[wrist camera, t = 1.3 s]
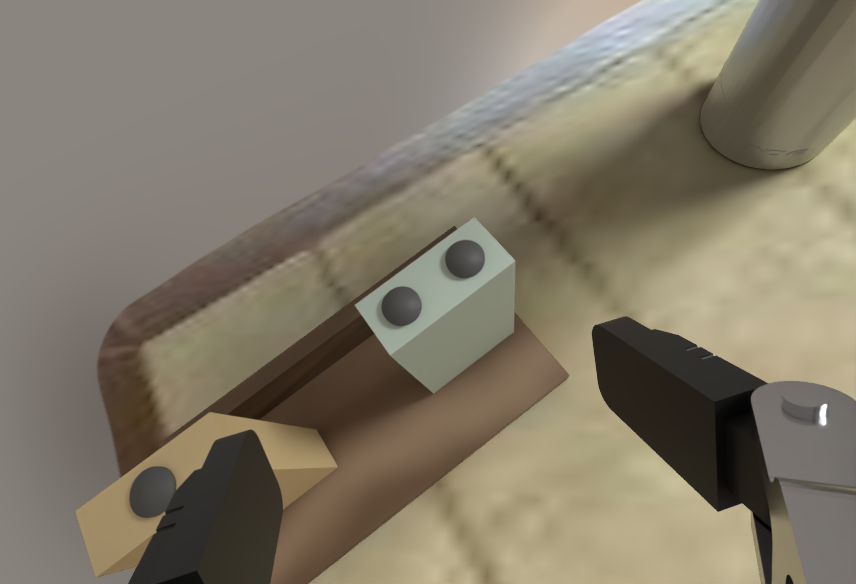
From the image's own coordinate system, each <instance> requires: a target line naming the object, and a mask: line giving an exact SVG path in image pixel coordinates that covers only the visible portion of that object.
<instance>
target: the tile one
mask: <svg viewBox="0 0 856 584" xmlns="http://www.w3.org/2000/svg"><path fill="white" fill-rule="evenodd" d="M250 429H252V430H253V431H255V433H256V434H257V436H258V437H259V440H260V442H261V444H262V446H263V449H264V451H265V453H266V456H267V458H268V460H269V463H270V465H271V467H272V470H273V472H274V474H275V476H276V479H277V481H278V484H279V486H280V490H281V494H282V500H283V509H285V508H286V507H287V506H289V505H290V504H291V503H292V502H294V501H295V500H296V499H298V498H299V497H300V496H302V495H303V494H304V493H305V492H307V491H308V490H309V489H311V488H312V487H313V486H314V485H316V484H317V483H318V482H320V481H321V480H322V479H324V478H325V477H326V476H327V475H329V474H330V473H331V472H333V471H334V470H335V469H337V468H338V466H337V464H336V462H335V461H334V459H333V457H332V455H331V454H330V452H329V450H328V448H327V447H326V445H325V443H324V441H323V440H322V438H321V436H320V434H319V433H318V431H317V430H316V429H310V428H304V427H298V426H292V425H286V424H279V423H273V422H267V421H261V420H255V419H249V418H243V417H236V416H230V415H224V414H218V413H212V412H209V413H208V414H206V415H205V416H204V417H202V418H201V419H200V420H198V421H197V422H196V423H194V424H193V425H192V426H190V427H189V428H187V429H186V430H185V431H183V432H182V433H181V434H179V435H178V436H177V437H175V438H174V439H173V440H171V441H170V442H169V443H167V444H166V445H164V446H163V447H162V448H160V449H159V450H158V451H156V452H155V453H154V454H152V455H151V456H150V457H148V458H147V459H145V460H144V461H143V462H141V463H140V464H139V465H137V466H136V467H135V468H133V469H132V470H131V471H129V472H128V473H127V474H125V475H124V476H122V477H121V478H120V479H118V480H117V481H116V482H114V483H113V484H112V485H110V486H109V487H108V488H106V489H105V490H103V491H102V492H101V493H100V494H98V495H97V496H95V497H94V498H93V499H91V500H90V501H89V502H87V503H86V504H85V505H83V506H82V507H80V508H79V509H78V510H76V515H77V518H78V522H79V525H80V528H81V532H82V535H83V538H84V541H85V544H86V548H87V551H88V554H89V558H90V561H91V564H92V568H93V571H94V574H95V577H100V576H104V575H107V574H111V573H114V572H117V571H121V570H125V569H129V568H132V567H136V566H138V564H139V562H140V560H141V558H142V556H143V554H144V552H145V550H146V548H147V546H148V544H149V542H150V540H151V538H152V536H153V534H155V533H156V528H157V526H158V524H159V522H160V520H161V518H162V516H164V515H165V511H166V509H167V507H168V505H169V503H170V501H171V499H172V497H173V495H174V493H175V491H176V490H177V489H178V488H179V487H180V486H181V484H182V483H183V482H184V481H185V480H186V479H187V478H188V477H189V476H190V475H191V474H192V472H193V471H194V470H197V469H201V468H202V466H203V464H204V462H205V460H206V458H207V455H208V453H209V451H210V449H211V447H212V445H213V443H214V441H215V440H217V439H220V438H223V437H227V436H230V435H233V434H236V433H240V432H243V431H246V430H250Z"/></svg>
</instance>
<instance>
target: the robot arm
mask: <svg viewBox="0 0 856 584" xmlns="http://www.w3.org/2000/svg"><path fill="white" fill-rule="evenodd" d="M855 118H856V0H759V2H758V4H757V5H756V7H755V9H754V11H753V13H752V15H751V17H750V18H749V20H748V22H747V24H746V26H745V28H744V30H743V31H742V33H741V35H740V37H739V39H738V41H737V42H736V44H735V46H734V48H733V50H732V52H731V54H730V55H729V57H728V59H727V61H726V62H725V64H724V66H723V68H722V70H721V72H720V74H719V75H718V77H717V79H716V81H715V83H714V85H713V87H712V89H711V90H710V92H709V94H708V96H707V98H706V100H705V102H704V104H703V106H702V109H701V114H700V121H701V128H702V130H703V133H704V135H705V137H706V138H707V140H708V141H709V143H710V144H711V145H712V146H713V147H714V148H715V149H716V150H717V151H718V152H720V153H721V154H722V155H724V156H726V157H727V158H729V159H731V160H732V161H735V162H737V163H740V164H742V165H745V166H750V167H754V168H759V169H773V170H774V169H784V168H790V167H794V166H798V165H801V164H803V163H805V162H807V161H810V160H812V159H813V158H815V157H816V156H817V155H818V154H820V153H821V152H822V151H823V150H824V149H825V148H826V147H827V146H828V145H829V144H830V143H831V142H832V141H833V140H834V139H835V138H836V137H837V136H838V135H839V134H840V133H841V132H842V131H843V130H844V129H845V128H846V127H847V126H848V125H849V124H850V123H851V122H852V121H853V120H854V119H855ZM592 340H593V348H594V355H595V363H596V371H597V379H598V385H599V389H600V392H601V394H602V397H603V399H604V401H605V402H606V404H607V405H608V407H609V408H610V409H611V410H612V411H613V412H614V413H615V414H616V415H617V416H618V417H619V418H620V419H621V420H622V421H624V422H625V423H626V424H627V425H628V426H629V427H630V428H631V429H632V430H633V431H634V432H635V433H636V434H637V435H638V436H639V437H640V438H641V439H642V440H643V441H644V442H646V443H647V444H648V445H649V446H650V447H651V448H652V449H653V450H654V451H655V452H656V453H657V454H658V455H659V456H660V457H661V458H662V459H663V460H664V461H665V462H666V463H667V464H669V465H670V466H671V467H672V468H673V469H674V470H675V471H676V472H677V473H678V474H679V475H680V476H681V477H682V478H683V479H684V480H685V481H686V482H687V483H688V484H689V485H691V486H692V487H693V488H694V489H695V490H696V491H697V492H698V493H699V494H700V495H701V496H702V497H703V498H704V499H705V500H706V501H707V502H708V503H709V504H710V505H711V506H712V507H714V508H715V509H716V510H717V511H718V512H719V511H722V510H724V509H727V508H730V507H733V506H736V505H738V504H741V503H743V504H744V505H745V506H746V507H747V508H748V509H750V510H751V528H752V534H753V540H754V545H755V551H756V557H757V563H758V569H759V575H760V580H761V584H856V401H855V400H854V399H853V398H851V397H849V396H848V395H846V394H844V393H842V392H840V391H838V390H835V389H833V388H830V387H826V386H823V385H819V384H814V383H808V382H799V381H781V382H774V383H769V384H768V383H766V382H765V381H763V380H761V379H759V378H757V377H755V376H753V375H752V374H750V373H748V372H746V371H744V370H742V369H740V368H739V367H737V366H735V365H733V364H731V363H729V362H727V361H726V360H724V359H722V358H720V357H718V356H713V353H711V352H709V351H707V350H705V349H703V348H701V347H699V348H698V347H697V345H696V344H694V343H692V342H690V341H688V340H687V339H685V338H683V337H681V336H679V335H676V334H672V333H668V332H664V331H660V330H656V329H654V330H650V329H649V328H647V327H645V326H643V325H642V324H640V323H638V322H636V321H635V320H633V319H631V318H629V317H626V316H625V317H621V318H618V319H614V320H611V321H608V322H604V323H601V324H598V325H595V326H594V327H593V330H592ZM282 515H283V500H282V494H281V490H280V486H279V484H278V481H277V479H276V476H275V474H274V472H273V470H272V467H271V465H270V463H269V460H268V458H267V456H266V453H265V451H264V449H263V446H262V444H261V442H260V440H259V437H258V436H257V434H256V433H255V431H253V430H252V429H250V430H246V431H243V432H240V433H236V434H233V435H230V436H227V437H223V438H220V439H217V440H215V441H214V443H213V445H212V447H211V449H210V451H209V453H208V455H207V458H206V460H205V462H204V464H203V466H202V468H201V469H197V470H194V471H193V472H192V474H191V475H190V476H189V477H188V478H187V479H186V480H185V481H184V482H183V483H182V484H181V486H180V487H179V488H178V489H177V490H176V491H175V493H174V495H173V497H172V499H171V501H170V503H169V505H168V507H167V509H166V511H165V515H164V516H162V518H161V520H160V522H159V524H158V526H157V528H156V533H155V534H153V536H152V538H151V540H150V542H149V544H148V546H147V548H146V550H145V552H144V554H143V556H142V558H141V560H140V562H139V564H138V566H137V567H136V569H135V571H134V573H133V576H132V577H131V579H130V581H129V583H128V584H270V583H271V577H272V571H273V566H274V560H275V554H276V549H277V543H278V538H279V532H280V526H281V521H282Z"/></svg>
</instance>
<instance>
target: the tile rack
mask: <svg viewBox="0 0 856 584" xmlns="http://www.w3.org/2000/svg"><path fill="white" fill-rule="evenodd" d="M456 230H457V228H456V227H455V226H454V227H452V228H451V229H450V230H448V231H447V232H446V233H444V234H443V235H441V236H440V237H439V238H437V239H436V240H435V241H433V242H432V243H431V244H429V245H428V246H427V247H425V248H424V249H422V250H421V251H420V252H418V253H417V254H416V255H414V256H413V257H412V258H410V259H409V260H408V261H406V262H405V263H403V264H402V265H401V266H399V267H398V268H397V269H395V270H394V271H393V272H391V273H390V274H389V275H387V276H386V277H384V278H383V279H382V280H380V281H379V282H378V283H376V284H375V285H374V286H372V287H371V288H370V289H368V290H367V291H365V292H364V293H363V294H361V295H360V296H359V297H357V298H356V299H355V300H353V301H352V302H351V303H349V304H348V305H346V306H345V307H344V308H342V309H341V310H340V311H338V312H337V313H336V314H334V315H333V316H332V317H330V318H329V319H327V320H326V321H325V322H323V323H322V324H321V325H319V326H318V327H317V328H315V329H314V330H313V331H311V332H310V333H308V334H307V335H306V336H304V337H303V338H302V339H300V340H299V341H298V342H296V343H295V344H294V345H292V346H291V347H289V348H288V349H287V350H285V351H284V352H283V353H281V354H280V355H279V356H277V357H276V358H275V359H273V360H272V361H270V362H269V363H268V364H266V365H265V366H264V367H262V368H261V369H260V370H258V371H257V372H256V373H254V374H253V375H251V376H250V377H249V378H247V379H246V380H245V381H243V382H242V383H241V384H239V385H238V386H237V387H235V388H234V389H233V390H231V391H230V392H228V393H227V394H226V395H224V396H223V397H222V398H220V399H219V400H218V401H216V402H215V403H214V404H212V405H211V406H209V407H208V408H207V409H205V410H204V411H203V412H201V413H200V414H199V415H197V416H196V417H195V418H193V419H192V420H190V421H189V422H188V423H186V424H185V425H184V426H182V427H181V428H180V429H178V430H177V431H176V432H174V433H173V434H171V435H170V436H169V437H167V438H166V439H165V440H163V441H162V442H161V443H159V444H158V445H159V447H160V448H162V447H163V446H164V445H166V444H167V443H169V442H170V441H171V440H173V439H174V438H175V437H177V436H178V435H179V434H181V433H182V432H183V431H185V430H186V429H187V428H189V427H190V426H192V425H193V424H194V423H196V422H197V421H198V420H200V419H201V418H202V417H204V416H205V415H206V414H208V413H209V412H212V413H218V414H224V415H230V416H236V417H243V418H249V419H255V420H261V421H267V422H273V423H279V424H286V425H292V426H298V427H304V428H310V429H316V430H317V431H318V433H319V434H320V436H321V438H322V440H323V441H324V443H325V445H326V447H327V448H328V450H329V452H330V454H331V455H332V457H333V459H334V461H335V462H336V464H337V466H338V468H337V469H335V470H334V471H333V472H331V473H330V474H329V475H327V476H326V477H325V478H324V479H322V480H321V481H320V482H318V483H317V484H316V485H314V486H313V487H312V488H311V489H309V490H308V491H307V492H305V493H304V494H303V495H302V496H300V497H299V498H298V499H296V500H295V501H294V502H292V503H291V504H290V505H289V506H287V507H286V508H285V509H283V515H282V521H281V526H280V532H279V538H278V543H277V549H276V554H275V560H274V566H273V571H272V577H271V583H270V584H308V583H309V582H311V581H312V580H313V579H314V578H316V577H317V576H318V575H320V574H321V573H322V572H323V571H325V570H326V569H327V568H328V567H330V566H331V565H332V564H333V563H335V562H336V561H337V560H339V559H340V558H341V557H342V556H344V555H345V554H346V553H347V552H349V551H350V550H351V549H352V548H354V547H355V546H356V545H358V544H359V543H360V542H361V541H363V540H364V539H365V538H366V537H368V536H369V535H370V534H371V533H373V532H374V531H375V530H376V529H378V528H379V527H380V526H382V525H383V524H384V523H385V522H387V521H388V520H389V519H390V518H392V517H393V516H394V515H395V514H397V513H398V512H399V511H401V510H402V509H403V508H404V507H406V506H407V505H408V504H409V503H411V502H412V501H413V500H414V499H416V498H417V497H418V496H420V495H421V494H422V493H423V492H425V491H426V490H427V489H428V488H430V487H431V486H432V485H433V484H435V483H436V482H437V481H439V480H440V479H441V478H442V477H444V476H445V475H446V474H447V473H449V472H450V471H451V470H452V469H454V468H455V467H456V466H458V465H459V464H460V463H461V462H463V461H464V460H465V459H466V458H468V457H469V456H470V455H471V454H473V453H474V452H475V451H477V450H478V449H479V448H480V447H482V446H483V445H484V444H485V443H487V442H488V441H489V440H490V439H492V438H493V437H494V436H496V435H497V434H498V433H499V432H501V431H502V430H503V429H504V428H506V427H507V426H508V425H509V424H511V423H512V422H513V421H515V420H516V419H517V418H518V417H520V416H521V415H522V414H523V413H525V412H526V411H527V410H528V409H530V408H531V407H532V406H533V405H535V404H536V403H537V402H539V401H540V400H541V399H542V398H544V397H545V396H546V395H547V394H549V393H550V392H551V391H552V390H554V389H555V388H556V387H558V386H559V385H560V384H561V383H563V382H564V381H565V380H566V379H567V378H568V377H569V374H568V373H567V372H566V371H565V370H564V368H563V367H562V366H561V365H560V364H559V363H558V362H557V360H556V359H555V358H554V357H553V356H552V355H551V354H550V352H549V351H548V350H547V349H546V348H545V347H544V346H543V344H542V343H541V342H540V341H539V340H538V339H537V338H536V336H535V335H534V334H533V333H532V332H531V331H530V330H529V329H528V327H527V326H526V325H525V324H524V323H523V322H522V321H521V319H520V318H519V317H518V316H517V315H516V314H515V313H514V332H513V333H512V334H511V335H509V336H508V337H507V338H505V339H504V340H503V341H501V342H500V343H499V344H498V345H496V346H495V347H494V348H492V349H491V350H490V351H488V352H487V353H486V354H485V355H483V356H482V357H481V358H479V359H478V360H477V361H476V362H474V363H473V364H472V365H470V366H469V367H468V368H466V369H465V370H464V371H463V372H461V373H460V374H459V375H457V376H456V377H455V378H453V379H452V380H451V381H450V382H448V383H447V384H446V385H444V386H443V387H442V388H440V389H439V390H438V391H437V392H435V393H434V394H433V393H432V392H431V391H430V390H429V389H428V388H427V387H425V386H424V385H423V384H422V383H421V382H420V381H419V380H417V379H416V378H415V377H414V376H413V375H412V374H410V373H409V372H408V371H407V370H406V369H405V368H404V367H402V366H401V365H400V364H399V363H398V362H397V361H396V360H394V359H393V358H392V357H391V356H390V355H389V353H388V352H387V351H386V349H385V348H384V346H383V345H382V343H381V342H380V341H379V339H378V338H377V336H376V335H375V333H374V332H373V331H372V329H371V328H370V326H369V325H368V324H367V322H366V321H365V319H364V318H363V316H362V315H361V314H360V312H359V311H358V309H357V308H356V306H355V304H357V303H358V302H360V301H361V300H362V299H364V298H365V297H366V296H368V295H369V294H370V293H372V292H373V291H374V290H376V289H377V288H378V287H380V286H381V285H383V284H384V283H385V282H387V281H388V280H389V279H391V278H392V277H393V276H395V275H396V274H397V273H399V272H400V271H402V270H403V269H404V268H406V267H407V266H408V265H410V264H411V263H412V262H414V261H415V260H416V259H418V258H419V257H420V256H422V255H423V254H425V253H426V252H427V251H429V250H430V249H431V248H433V247H434V246H435V245H437V244H438V243H439V242H441V241H442V240H444V239H445V238H446V237H448V236H449V235H450V234H452V233H453V232H454V231H456Z"/></svg>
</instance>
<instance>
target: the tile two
mask: <svg viewBox="0 0 856 584" xmlns="http://www.w3.org/2000/svg"><path fill="white" fill-rule="evenodd" d="M515 266H516V261H515V260H514V259H513V257H512V256H511V255H510V254H509V253H508V252H507V251H506V250H505V249H504V248H503V247H502V246H501V245H500V244H499V242H498V241H497V240H496V239H495V238H494V237H493V236H492V235H491V234H490V233H489V232H488V231H487V230H486V229H485V228H484V226H483V225H482V224H481V223H480V222H479V221H478V220H477V219H476V218H475V217H473V218H472V219H471V220H469V221H468V222H467V223H465V224H464V225H462V226H461V227H460V228H458V229H457V230H456V231H454V232H453V233H452V234H450V235H449V236H448V237H446V238H445V239H444V240H442V241H441V242H439V243H438V244H437V245H435V246H434V247H433V248H431V249H430V250H429V251H427V252H426V253H425V254H423V255H422V256H420V257H419V258H418V259H416V260H415V261H414V262H412V263H411V264H410V265H408V266H407V267H406V268H404V269H403V270H402V271H400V272H399V273H397V274H396V275H395V276H393V277H392V278H391V279H389V280H388V281H387V282H385V283H384V284H383V285H381V286H380V287H378V288H377V289H376V290H374V291H373V292H372V293H370V294H369V295H368V296H366V297H365V298H364V299H362V300H361V301H360V302H358V303H357V304H355V306H356V308H357V309H358V311H359V312H360V314H361V315H362V316H363V318H364V319H365V321H366V322H367V324H368V325H369V326H370V328H371V329H372V331H373V332H374V333H375V335H376V336H377V338H378V339H379V341H380V342H381V343H382V345H383V346H384V348H385V349H386V351H387V352H388V353H389V355H390V356H391V357H392V358H393V359H394V360H396V361H397V362H398V363H399V364H400V365H401V366H402V367H404V368H405V369H406V370H407V371H408V372H409V373H410V374H412V375H413V376H414V377H415V378H416V379H417V380H419V381H420V382H421V383H422V384H423V385H424V386H425V387H427V388H428V389H429V390H430V391H431V392H432V393H433V394H434V393H435V392H437V391H438V390H439V389H440V388H442V387H443V386H444V385H446V384H447V383H448V382H450V381H451V380H452V379H453V378H455V377H456V376H457V375H459V374H460V373H461V372H463V371H464V370H465V369H466V368H468V367H469V366H470V365H472V364H473V363H474V362H476V361H477V360H478V359H479V358H481V357H482V356H483V355H485V354H486V353H487V352H488V351H490V350H491V349H492V348H494V347H495V346H496V345H498V344H499V343H500V342H501V341H503V340H504V339H505V338H507V337H508V336H509V335H511V334H512V333H513V332H514V307H515Z"/></svg>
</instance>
